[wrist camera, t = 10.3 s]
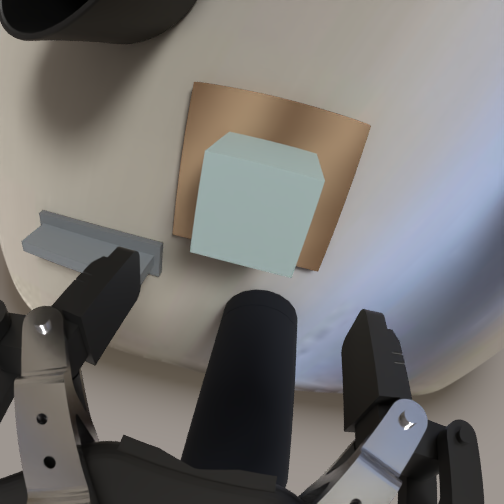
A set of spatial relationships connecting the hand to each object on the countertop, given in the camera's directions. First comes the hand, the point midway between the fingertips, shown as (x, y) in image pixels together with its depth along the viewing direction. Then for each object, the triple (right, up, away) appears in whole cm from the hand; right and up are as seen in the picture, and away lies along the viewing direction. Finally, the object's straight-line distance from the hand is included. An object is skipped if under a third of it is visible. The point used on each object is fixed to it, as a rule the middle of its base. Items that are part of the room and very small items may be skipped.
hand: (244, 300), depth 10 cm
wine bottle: (+1, -4, +16) cm, 17 cm away
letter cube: (+1, +6, +9) cm, 11 cm away
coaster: (+1, +7, +9) cm, 12 cm away
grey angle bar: (-13, +3, +14) cm, 20 cm away
